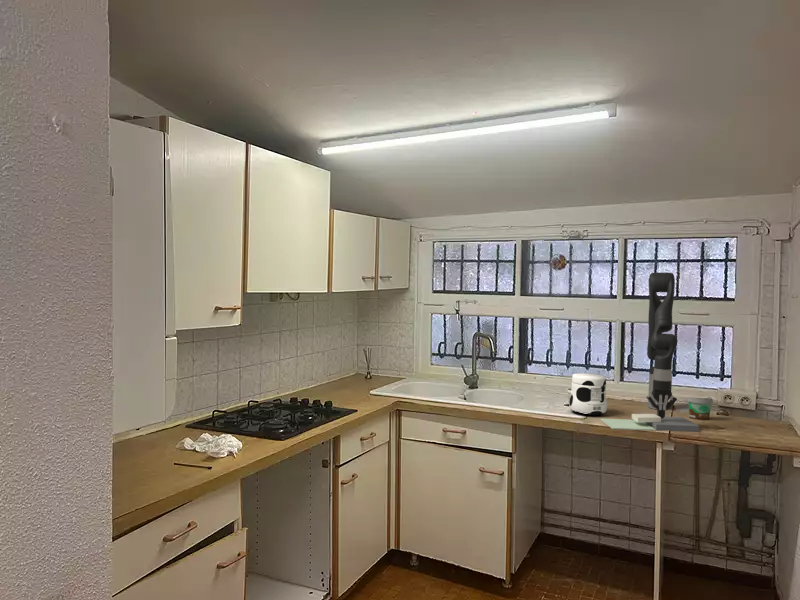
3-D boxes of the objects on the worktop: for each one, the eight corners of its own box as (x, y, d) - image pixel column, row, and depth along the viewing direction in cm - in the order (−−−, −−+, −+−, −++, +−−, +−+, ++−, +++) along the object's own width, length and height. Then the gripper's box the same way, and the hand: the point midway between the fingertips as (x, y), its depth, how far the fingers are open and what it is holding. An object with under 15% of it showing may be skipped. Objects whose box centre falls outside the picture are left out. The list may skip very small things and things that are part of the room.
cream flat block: (631, 418, 265) (631, 413, 265) (654, 418, 265) (654, 413, 265) (637, 422, 258) (637, 417, 258) (661, 422, 258) (661, 417, 258)
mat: (600, 419, 271) (600, 418, 271) (640, 421, 270) (640, 419, 270) (612, 429, 254) (612, 427, 254) (655, 430, 253) (655, 429, 253)
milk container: (578, 407, 296) (579, 371, 295) (612, 413, 284) (613, 376, 284) (562, 413, 283) (563, 375, 282) (598, 419, 271) (599, 380, 271)
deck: (642, 421, 270) (642, 415, 270) (682, 422, 269) (682, 417, 269) (656, 430, 254) (656, 424, 254) (698, 431, 253) (699, 426, 253)
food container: (696, 421, 273) (697, 399, 273) (686, 418, 279) (687, 396, 278) (718, 420, 276) (719, 398, 276) (708, 417, 282) (709, 396, 282)
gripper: (674, 378, 264) (672, 416, 265) (643, 377, 265) (642, 415, 265) (681, 380, 257) (679, 420, 257) (650, 379, 257) (648, 419, 258)
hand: (660, 418), depth 261 cm, fingers closed
